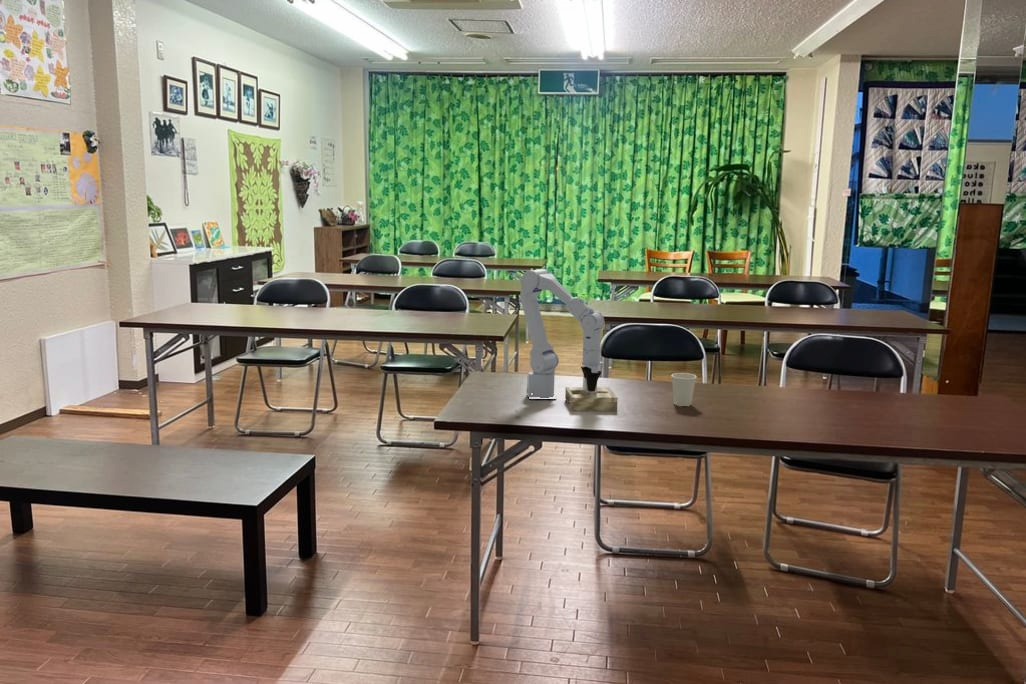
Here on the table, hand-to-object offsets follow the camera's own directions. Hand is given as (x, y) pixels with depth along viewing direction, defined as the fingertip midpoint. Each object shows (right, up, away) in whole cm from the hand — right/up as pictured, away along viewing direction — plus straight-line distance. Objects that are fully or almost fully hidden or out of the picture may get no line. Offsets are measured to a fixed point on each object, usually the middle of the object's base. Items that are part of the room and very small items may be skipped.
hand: (590, 389), depth 257 cm
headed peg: (0, -5, +1) cm, 5 cm away
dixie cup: (+32, -6, +4) cm, 32 cm away
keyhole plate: (0, -5, +1) cm, 5 cm away
